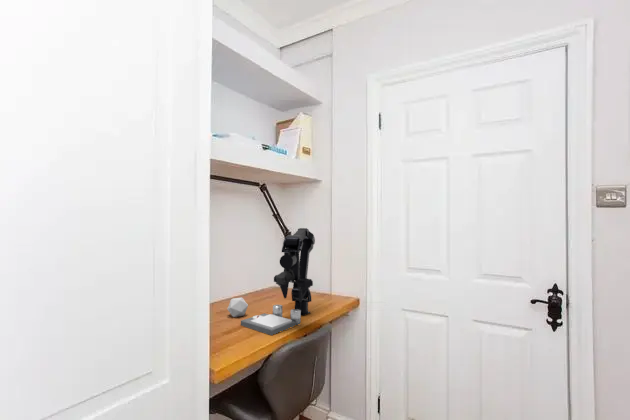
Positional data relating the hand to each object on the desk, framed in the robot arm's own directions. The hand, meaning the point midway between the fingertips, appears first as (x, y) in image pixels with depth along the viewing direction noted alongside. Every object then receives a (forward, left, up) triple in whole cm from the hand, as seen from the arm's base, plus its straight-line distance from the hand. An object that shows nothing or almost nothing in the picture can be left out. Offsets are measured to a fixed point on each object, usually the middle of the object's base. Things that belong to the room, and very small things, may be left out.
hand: (292, 300), depth 145 cm
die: (+7, -28, -11) cm, 31 cm away
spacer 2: (-1, +1, -11) cm, 11 cm away
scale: (+8, -7, -11) cm, 15 cm away
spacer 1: (-1, -10, -11) cm, 15 cm away
